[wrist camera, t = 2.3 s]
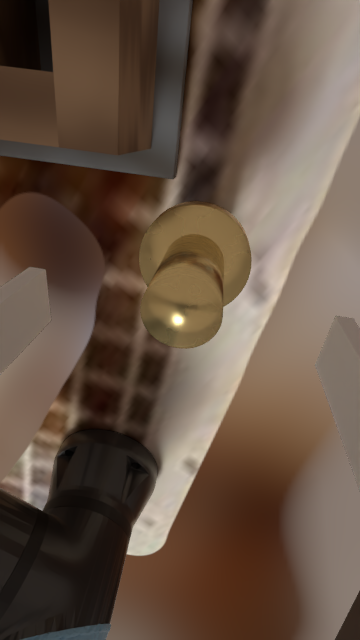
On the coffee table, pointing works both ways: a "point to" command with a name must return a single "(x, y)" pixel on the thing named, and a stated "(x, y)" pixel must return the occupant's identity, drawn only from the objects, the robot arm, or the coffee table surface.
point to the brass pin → (191, 272)
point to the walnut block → (94, 82)
